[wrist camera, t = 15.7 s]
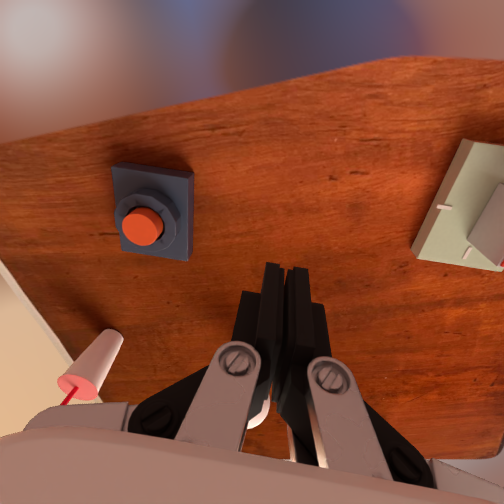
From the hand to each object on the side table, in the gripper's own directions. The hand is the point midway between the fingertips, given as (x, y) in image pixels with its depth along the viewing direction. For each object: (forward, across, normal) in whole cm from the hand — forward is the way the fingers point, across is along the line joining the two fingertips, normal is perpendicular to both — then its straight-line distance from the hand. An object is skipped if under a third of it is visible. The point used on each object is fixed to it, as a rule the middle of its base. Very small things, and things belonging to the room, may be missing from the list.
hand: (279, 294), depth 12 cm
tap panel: (+21, -20, +1) cm, 29 cm away
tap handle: (+19, -20, +1) cm, 28 cm away
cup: (+21, +22, +30) cm, 43 cm away
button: (+17, +13, +7) cm, 23 cm away
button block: (+21, +13, +7) cm, 26 cm away
